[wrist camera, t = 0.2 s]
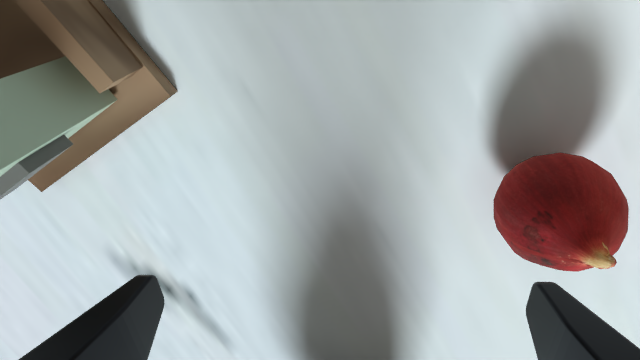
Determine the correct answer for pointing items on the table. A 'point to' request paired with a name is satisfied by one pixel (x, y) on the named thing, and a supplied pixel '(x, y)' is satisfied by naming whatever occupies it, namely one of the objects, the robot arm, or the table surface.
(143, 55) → the brown open tray
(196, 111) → the table surface
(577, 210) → the onion
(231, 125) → the table surface
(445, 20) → the table surface
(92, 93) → the pale green block
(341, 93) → the table surface
